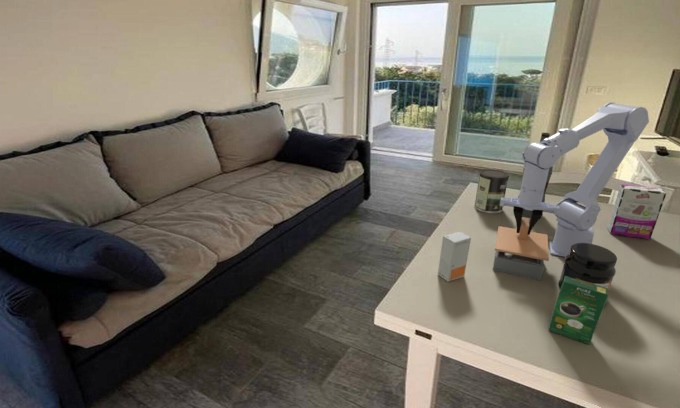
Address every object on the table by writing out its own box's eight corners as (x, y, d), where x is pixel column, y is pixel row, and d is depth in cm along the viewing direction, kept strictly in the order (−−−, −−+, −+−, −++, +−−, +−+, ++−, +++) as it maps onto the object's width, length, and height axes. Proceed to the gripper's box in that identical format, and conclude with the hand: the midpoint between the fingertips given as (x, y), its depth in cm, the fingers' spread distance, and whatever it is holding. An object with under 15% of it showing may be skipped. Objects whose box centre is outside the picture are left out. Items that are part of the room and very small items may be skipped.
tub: (539, 258, 109) (542, 246, 108) (540, 280, 99) (544, 267, 98) (495, 249, 114) (498, 238, 113) (492, 269, 104) (495, 257, 102)
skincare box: (448, 282, 98) (453, 242, 93) (437, 274, 102) (442, 235, 97) (465, 276, 101) (471, 237, 96) (454, 269, 104) (459, 230, 100)
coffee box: (591, 337, 80) (609, 286, 75) (591, 346, 78) (609, 294, 73) (549, 323, 84) (563, 274, 79) (547, 331, 82) (562, 280, 77)
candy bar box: (645, 233, 124) (662, 187, 118) (650, 240, 120) (668, 193, 114) (606, 228, 128) (620, 183, 122) (609, 234, 124) (624, 188, 118)
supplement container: (606, 312, 88) (621, 268, 83) (555, 297, 93) (567, 255, 88) (605, 289, 96) (618, 248, 91) (558, 276, 101) (569, 237, 96)
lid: (546, 238, 107) (550, 221, 105) (547, 263, 97) (552, 244, 94) (497, 230, 112) (501, 212, 110) (494, 252, 102) (497, 234, 99)
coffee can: (505, 207, 145) (512, 172, 139) (497, 215, 137) (504, 179, 131) (479, 200, 150) (484, 167, 145) (470, 208, 143) (475, 173, 137)
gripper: (503, 188, 100) (494, 233, 106) (564, 197, 95) (552, 243, 100) (504, 180, 106) (496, 223, 112) (562, 188, 101) (550, 232, 106)
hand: (522, 232), depth 106 cm, fingers closed on lid
